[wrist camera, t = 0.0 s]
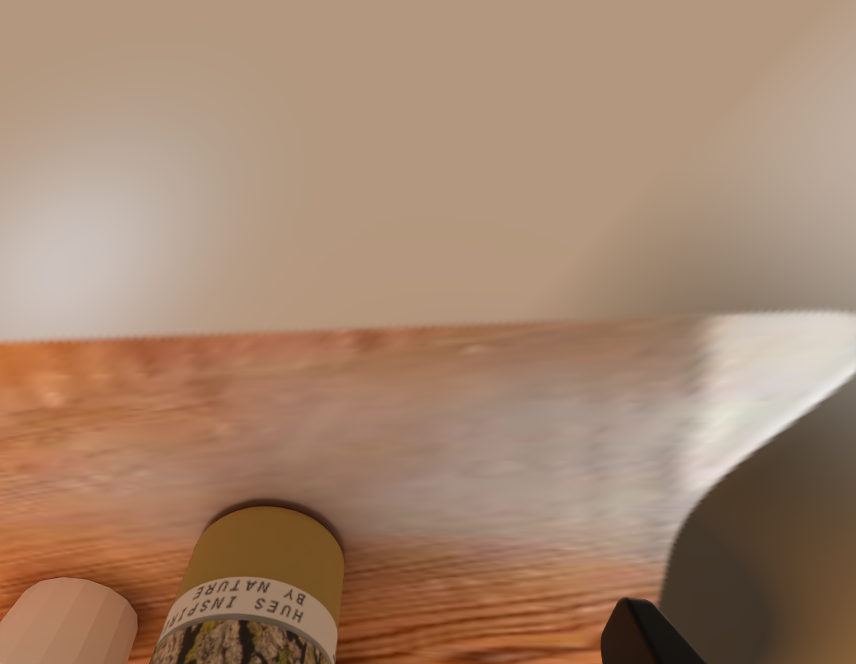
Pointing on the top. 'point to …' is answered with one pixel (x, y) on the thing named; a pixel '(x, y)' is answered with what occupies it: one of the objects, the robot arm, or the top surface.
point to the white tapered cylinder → (68, 625)
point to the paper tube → (257, 593)
